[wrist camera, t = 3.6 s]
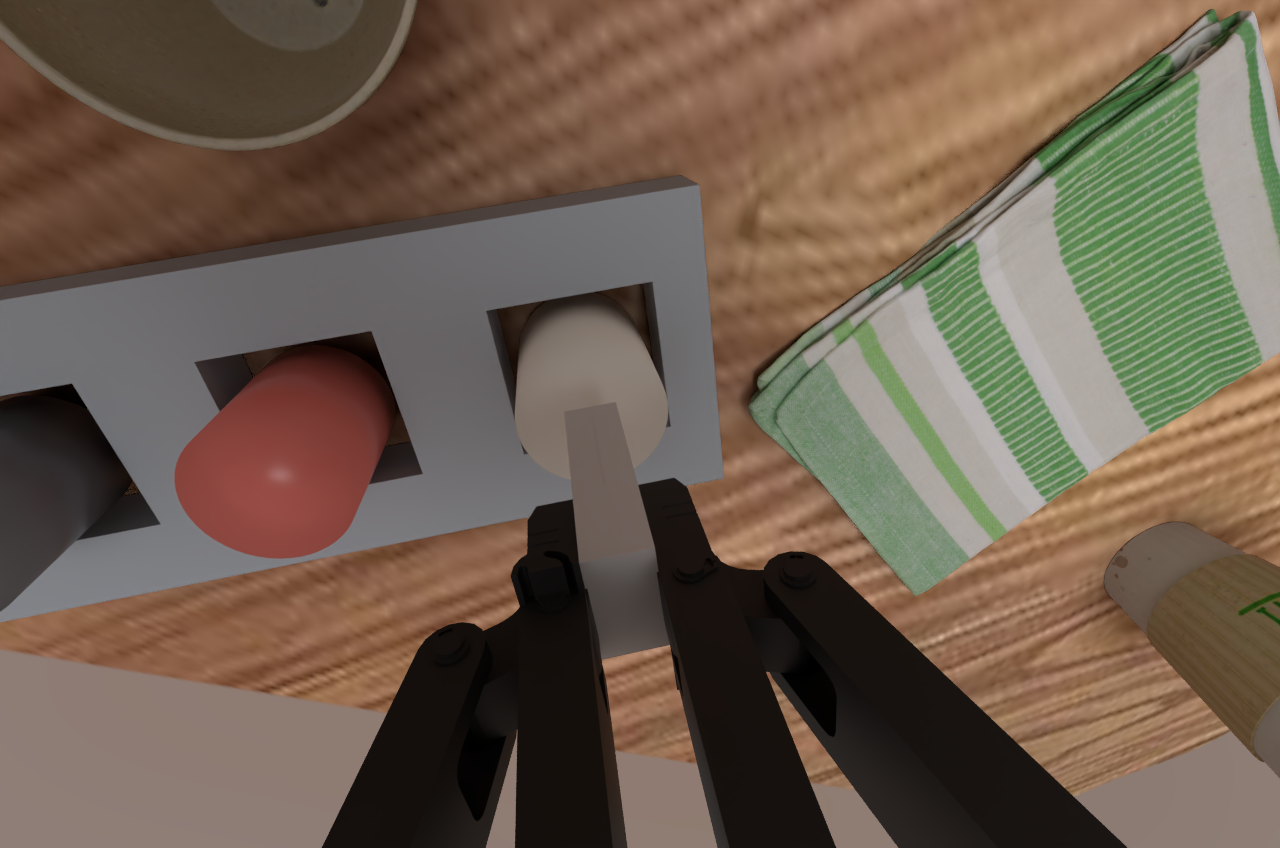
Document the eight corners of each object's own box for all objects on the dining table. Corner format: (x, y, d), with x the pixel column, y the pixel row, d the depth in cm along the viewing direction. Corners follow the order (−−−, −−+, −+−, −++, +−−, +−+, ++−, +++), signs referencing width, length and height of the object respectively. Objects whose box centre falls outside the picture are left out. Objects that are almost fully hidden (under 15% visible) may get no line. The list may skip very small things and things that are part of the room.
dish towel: (725, 385, 29) (743, 411, 26) (1196, -8, 24) (1269, -20, 22) (905, 583, 37) (931, 617, 34) (1287, 316, 32) (1348, 334, 29)
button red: (232, 358, 23) (140, 437, 17) (370, 334, 23) (321, 404, 18) (287, 472, 25) (221, 572, 20) (412, 449, 25) (379, 540, 20)
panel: (-161, 313, 22) (-257, 342, 19) (681, 175, 24) (699, 184, 21) (43, 573, 27) (-10, 624, 25) (706, 444, 29) (723, 478, 27)
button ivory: (505, 303, 24) (498, 360, 19) (632, 281, 25) (658, 331, 19) (533, 415, 27) (533, 494, 21) (648, 394, 27) (675, 466, 22)
